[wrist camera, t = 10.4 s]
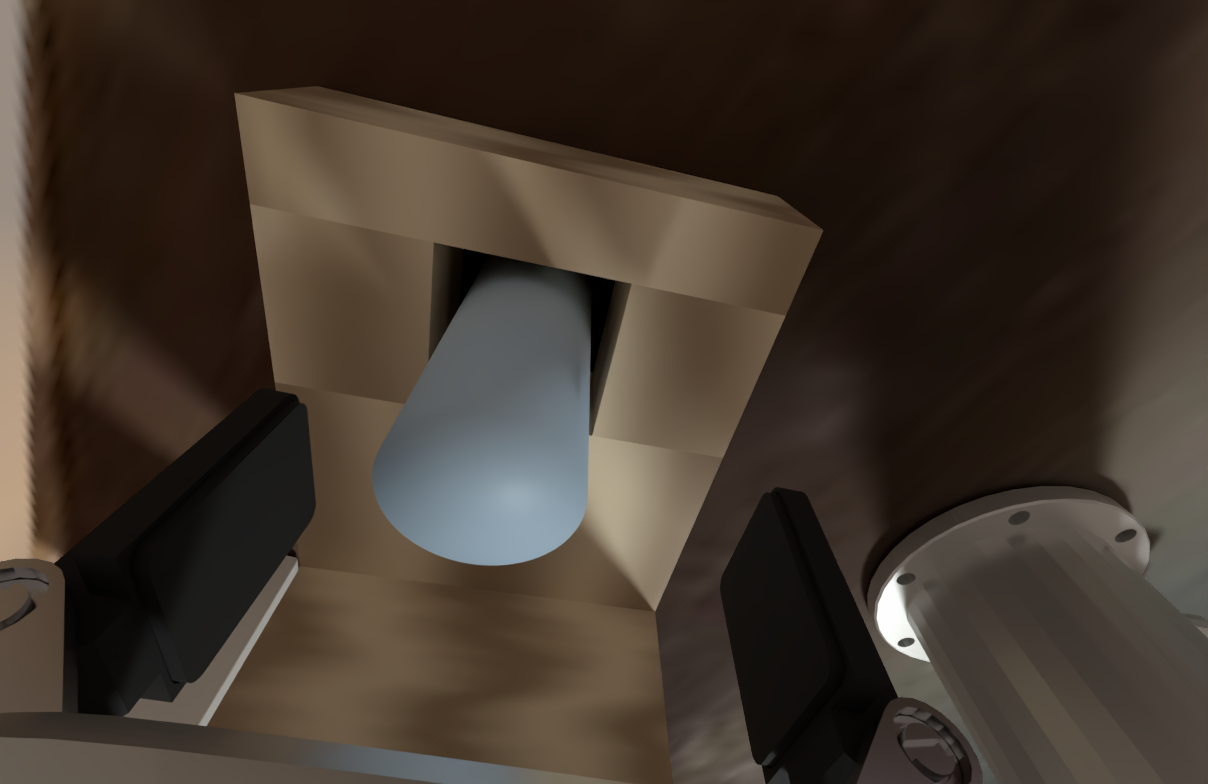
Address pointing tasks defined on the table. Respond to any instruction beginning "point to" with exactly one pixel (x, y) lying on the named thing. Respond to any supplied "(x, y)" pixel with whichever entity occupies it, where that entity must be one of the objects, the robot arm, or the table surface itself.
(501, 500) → the peg
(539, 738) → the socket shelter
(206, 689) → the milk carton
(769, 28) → the table surface
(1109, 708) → the robot arm
